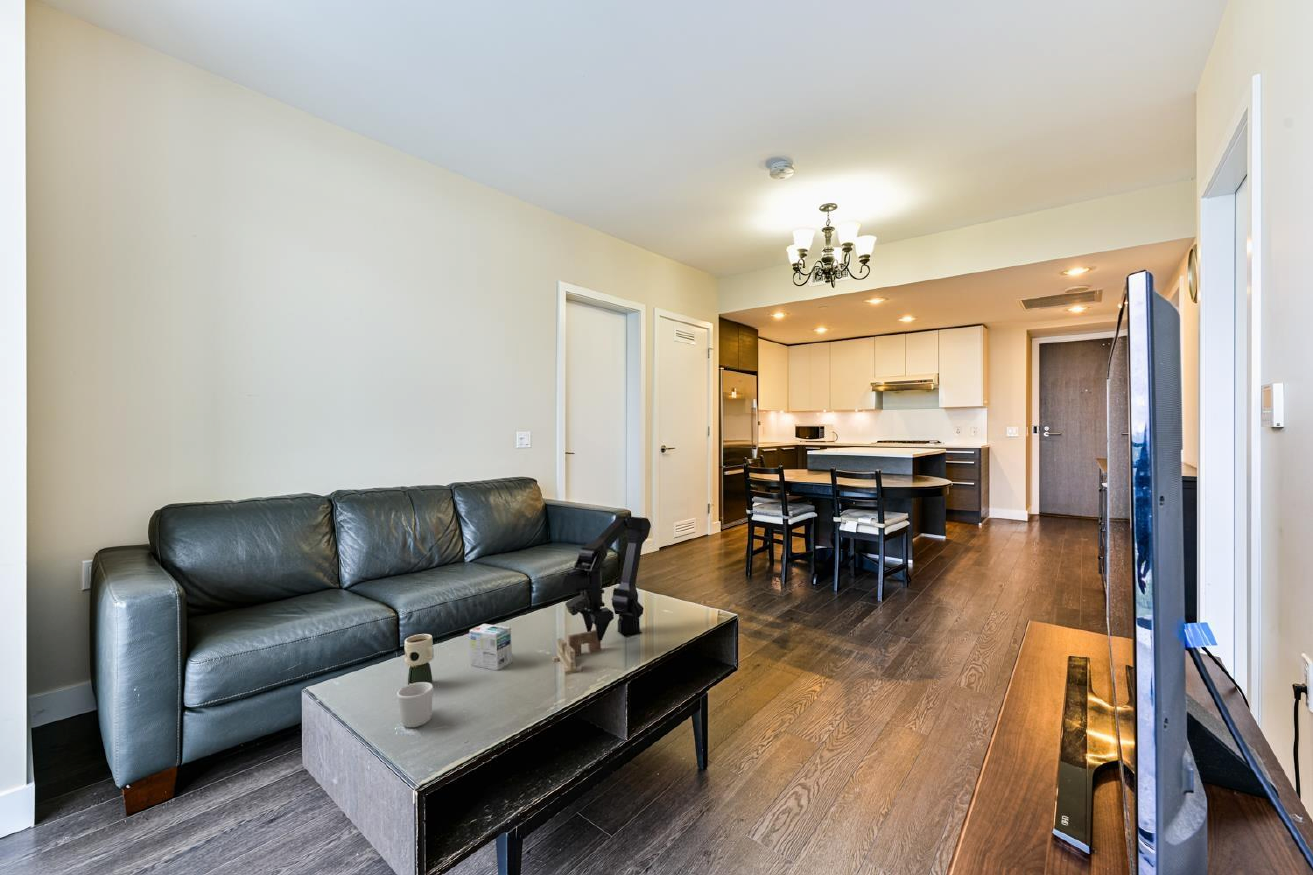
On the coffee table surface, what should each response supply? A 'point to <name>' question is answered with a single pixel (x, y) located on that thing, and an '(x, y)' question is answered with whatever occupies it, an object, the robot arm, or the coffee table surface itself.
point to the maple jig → (566, 657)
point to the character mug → (419, 658)
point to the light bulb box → (490, 646)
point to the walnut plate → (584, 641)
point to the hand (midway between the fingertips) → (594, 635)
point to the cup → (415, 703)
